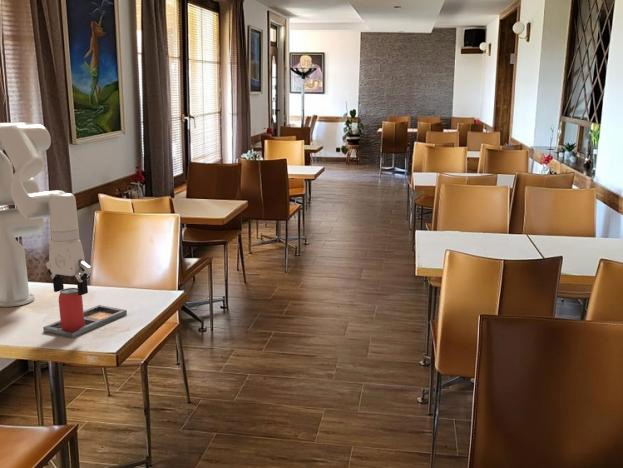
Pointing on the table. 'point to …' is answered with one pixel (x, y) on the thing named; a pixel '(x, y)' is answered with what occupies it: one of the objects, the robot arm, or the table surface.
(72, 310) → the beer can
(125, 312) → the gray rectangular frame
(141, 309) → the table surface
